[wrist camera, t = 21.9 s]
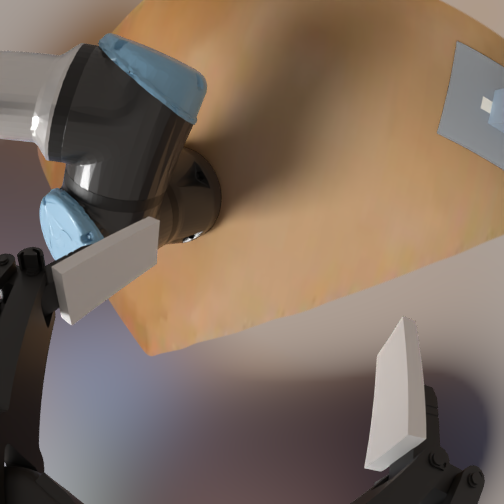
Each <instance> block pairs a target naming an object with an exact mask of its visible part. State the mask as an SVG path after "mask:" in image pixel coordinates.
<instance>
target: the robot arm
mask: <svg viewBox="0 0 504 504" xmlns="http://www.w3.org/2000/svg"><path fill="white" fill-rule="evenodd" d="M98 44H99V46H96V45H90V44H84V43H81V44H79V45H77V46H76V47H74V48H72V49H71V50H69V51H68V52H66V53H65V54H62V55H60V56H59V55H51V54H41V53H29V52H15V51H0V139H10V140H20V141H28V142H35V143H36V144H37V145H38V146H39V148H40V150H41V152H42V153H43V155H44V157H45V159H46V160H49V161H56V162H63V163H66V168H65V174H64V180H63V185H62V187H61V188H60V189H59V188H55V189H52V190H51V192H49V193H48V194H47V195H46V196H45V197H44V198H43V199H42V202H41V205H40V222H41V228H42V231H43V235H44V238H45V241H46V243H47V246H48V248H49V250H50V252H51V254H52V256H53V258H54V259H55V261H54V262H52V263H50V264H48V265H46V266H45V261H44V255H43V251H42V250H41V249H40V248H36V247H30V248H26V249H23V250H22V251H20V252H19V253H18V254H17V257H18V262H19V266H17V265H16V262H15V257H14V256H13V255H11V254H2V255H0V295H1V299H0V504H84V503H82V502H81V501H80V500H78V499H77V498H76V497H75V496H74V495H72V494H71V493H70V492H69V491H68V490H66V489H65V488H63V487H62V486H61V485H59V484H58V483H57V482H55V481H54V480H53V479H52V478H50V477H49V476H48V475H47V474H45V473H44V462H43V457H42V455H41V452H40V449H39V425H40V410H41V399H42V390H43V382H44V375H45V368H46V362H47V356H48V350H49V345H50V340H51V335H52V330H53V325H54V321H55V310H57V309H58V308H60V313H61V317H62V318H63V319H64V320H65V321H67V322H68V323H69V324H70V325H73V324H75V323H76V322H77V321H78V320H80V319H81V318H83V317H84V316H85V315H87V314H88V313H89V312H91V311H92V310H93V309H94V308H96V307H97V306H99V305H100V304H101V303H103V302H104V301H106V299H108V298H110V297H111V296H112V295H114V294H115V293H116V292H118V291H119V290H121V289H122V288H123V287H125V286H126V285H128V284H129V283H130V282H132V281H133V280H135V279H136V278H137V277H139V276H140V275H142V274H143V273H144V272H146V271H147V270H149V269H150V268H152V267H153V266H154V265H156V264H157V250H158V249H159V248H160V247H162V246H163V245H165V244H175V243H185V242H189V241H192V240H194V239H196V238H198V237H200V236H201V235H203V234H204V233H206V232H207V231H208V230H209V229H210V228H211V227H212V226H213V224H214V223H215V221H216V219H217V217H218V214H219V211H220V206H221V190H220V185H219V181H218V178H217V176H216V174H215V172H214V170H213V168H212V167H211V165H210V164H209V163H208V161H207V160H206V159H205V158H204V157H202V156H201V155H200V154H199V153H197V152H195V151H193V150H191V149H188V148H185V147H184V144H185V142H186V140H187V137H188V135H189V133H190V131H191V129H192V126H193V124H194V125H195V123H196V122H197V118H196V117H197V114H198V112H199V109H200V107H201V104H202V102H203V99H204V97H205V94H206V91H207V83H206V80H205V78H204V76H203V75H202V74H201V73H200V72H198V71H197V70H195V69H193V68H192V67H190V66H188V65H186V64H184V63H182V62H180V61H178V60H176V59H174V58H172V57H170V56H168V55H166V54H163V53H161V52H159V51H157V50H154V49H152V48H150V47H147V46H145V45H143V44H140V43H138V42H135V41H132V40H129V39H126V38H123V37H121V36H118V35H115V34H111V33H109V34H106V35H105V36H104V37H103V38H102V39H100V40H99V43H98ZM437 408H438V406H437V397H436V395H435V392H434V390H433V388H432V387H429V386H426V385H424V380H423V370H422V361H421V353H420V345H419V338H418V331H417V325H416V321H414V320H412V319H410V318H407V317H404V316H402V318H401V320H400V321H399V323H398V325H397V326H396V328H395V329H394V331H393V332H392V334H391V335H390V337H389V339H388V340H387V342H386V343H385V345H384V346H383V348H382V349H381V351H380V352H379V354H378V355H377V364H376V381H375V393H374V403H373V413H372V421H371V429H370V437H369V443H368V449H367V456H366V461H365V468H367V469H371V470H376V471H383V470H384V469H386V468H387V467H389V466H390V471H389V474H388V475H387V476H385V477H384V478H382V479H380V480H379V481H377V482H375V483H374V484H375V485H374V486H373V487H372V488H370V489H369V490H368V491H367V492H365V493H364V494H363V495H361V496H360V497H359V498H357V499H356V500H355V501H353V502H352V503H350V504H478V501H479V498H480V495H481V492H482V490H483V487H484V481H485V480H484V475H483V473H482V471H481V470H480V469H479V467H477V466H474V465H473V466H469V467H467V468H466V469H464V470H463V471H462V470H460V469H459V468H457V467H455V466H453V465H451V464H450V463H449V457H448V454H447V453H446V451H445V450H444V449H443V448H441V447H440V437H439V418H438V409H437ZM4 462H5V463H6V466H4Z"/></svg>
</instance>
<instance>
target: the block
mask: <svg viewBox="0 0 504 504" xmlns="http://www.w3.org/2000/svg"><path fill="white" fill-rule="evenodd" d="M488 124H490V125H492V126H493V127H495V128H496V129H498V130H500V131H501V132H503V133H504V88H503V89H499V90H495V92H494V97H493V103H492V107H491V112H490V117H489V121H488Z"/></svg>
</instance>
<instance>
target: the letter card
mask: <svg viewBox="0 0 504 504" xmlns="http://www.w3.org/2000/svg"><path fill="white" fill-rule="evenodd" d="M503 88H504V67H502V66H501V65H499V64H498V63H496V62H495V61H493V60H491V59H490V58H488V57H486V56H484V55H483V54H481V53H479V52H477V51H476V50H474V49H472V48H470V47H468V46H466V45H464V44H462V43H460V42H458V41H457V43H456V50H455V56H454V62H453V67H452V72H451V77H450V82H449V87H448V91H447V96H446V100H445V104H444V108H443V112H442V116H441V120H440V123H439V127H438V131H437V134H439V135H441V136H443V137H445V138H447V139H449V140H451V141H453V142H455V143H457V144H459V145H461V146H463V147H465V148H467V149H469V150H470V151H472V152H474V153H476V154H478V155H479V156H481V157H483V158H484V159H486V160H488V161H490V162H491V163H493V164H495V165H496V166H498V167H499V168H501V169H503V170H504V133H503V132H501V131H500V130H498V129H496V128H495V127H493V126H492V125H490V124H488V121H489V117H490V112H491V107H492V103H493V97H494V92H495V90H499V89H503Z"/></svg>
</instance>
